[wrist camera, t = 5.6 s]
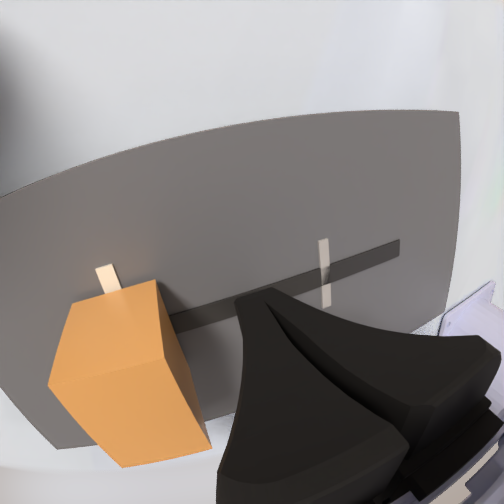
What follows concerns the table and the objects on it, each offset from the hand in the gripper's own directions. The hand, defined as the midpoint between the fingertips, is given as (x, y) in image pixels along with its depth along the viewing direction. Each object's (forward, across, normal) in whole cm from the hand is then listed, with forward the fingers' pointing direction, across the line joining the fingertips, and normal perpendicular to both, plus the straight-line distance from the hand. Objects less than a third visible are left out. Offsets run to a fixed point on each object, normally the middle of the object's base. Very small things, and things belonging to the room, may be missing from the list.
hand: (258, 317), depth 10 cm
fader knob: (+1, +4, 0) cm, 4 cm away
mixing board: (+2, 0, 0) cm, 3 cm away
